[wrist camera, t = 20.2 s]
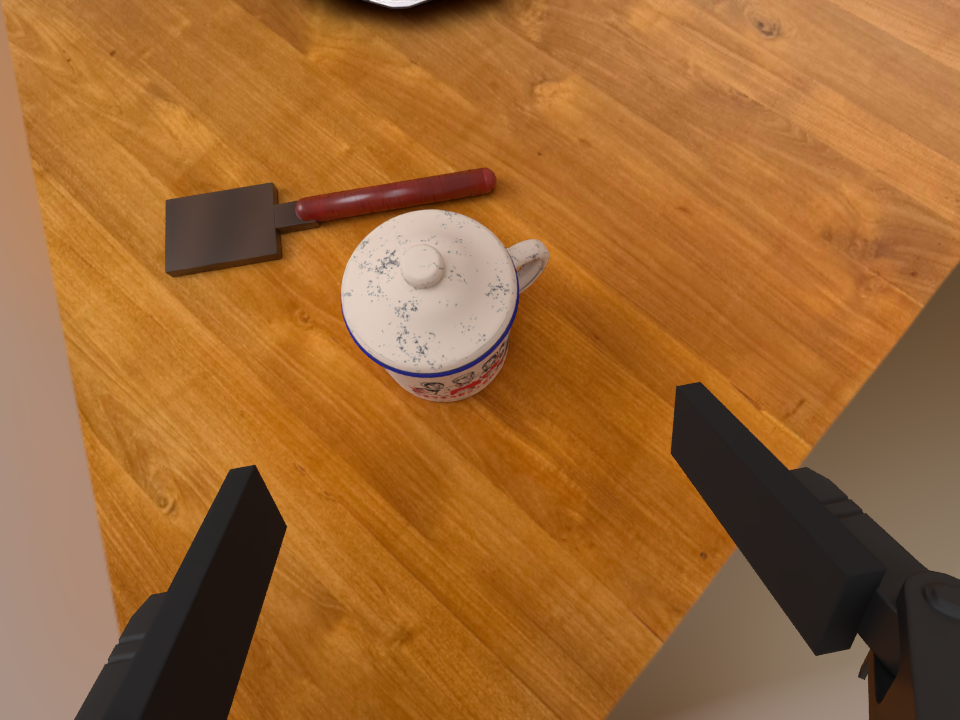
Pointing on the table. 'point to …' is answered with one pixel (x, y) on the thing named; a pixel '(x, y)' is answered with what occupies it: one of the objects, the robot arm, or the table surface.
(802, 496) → the robot arm
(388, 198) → the spatula
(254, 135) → the table surface
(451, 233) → the teacup with lid
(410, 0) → the plate
